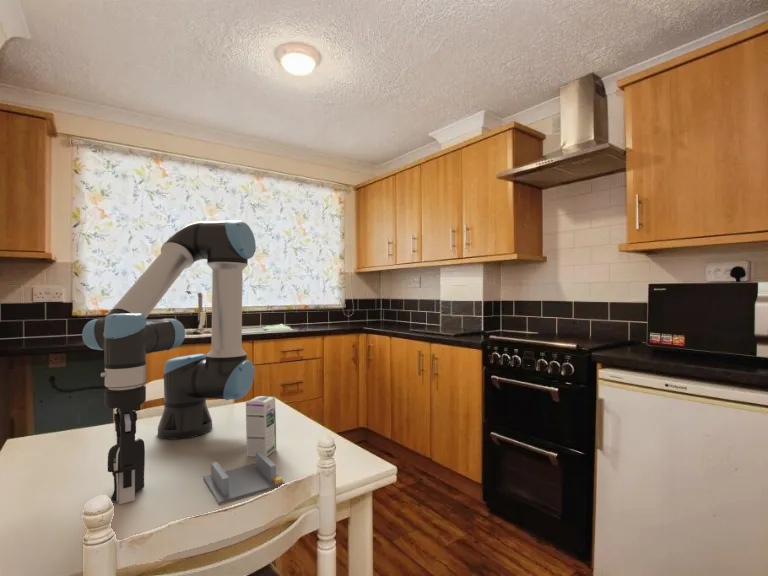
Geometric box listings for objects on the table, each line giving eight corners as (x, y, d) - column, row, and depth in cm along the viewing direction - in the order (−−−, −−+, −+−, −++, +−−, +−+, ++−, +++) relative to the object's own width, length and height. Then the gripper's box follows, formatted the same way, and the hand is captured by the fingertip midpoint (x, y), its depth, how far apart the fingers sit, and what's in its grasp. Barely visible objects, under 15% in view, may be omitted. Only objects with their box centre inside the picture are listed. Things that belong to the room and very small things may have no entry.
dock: (203, 479, 95) (203, 461, 95) (263, 463, 103) (263, 447, 103) (219, 504, 83) (218, 484, 83) (284, 485, 92) (284, 466, 92)
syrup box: (266, 458, 106) (266, 402, 106) (245, 456, 108) (245, 400, 108) (276, 449, 112) (276, 396, 112) (256, 448, 113) (256, 395, 113)
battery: (130, 486, 91) (130, 435, 91) (145, 487, 91) (145, 435, 91) (104, 502, 85) (104, 446, 85) (120, 504, 84) (120, 448, 84)
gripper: (102, 380, 94) (102, 481, 94) (105, 398, 77) (105, 521, 77) (140, 375, 98) (140, 472, 98) (151, 392, 82) (151, 508, 82)
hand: (125, 493), depth 88 cm, fingers open, 7 cm apart
